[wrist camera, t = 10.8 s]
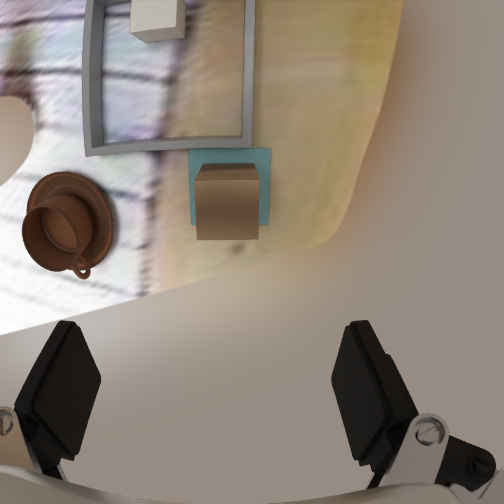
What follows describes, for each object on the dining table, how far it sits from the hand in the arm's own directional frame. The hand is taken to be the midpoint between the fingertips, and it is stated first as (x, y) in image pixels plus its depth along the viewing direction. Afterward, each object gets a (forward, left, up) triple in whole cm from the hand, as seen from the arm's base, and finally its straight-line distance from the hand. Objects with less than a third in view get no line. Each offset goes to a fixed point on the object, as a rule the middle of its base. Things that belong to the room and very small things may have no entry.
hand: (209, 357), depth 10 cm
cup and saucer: (+4, -18, -24) cm, 30 cm away
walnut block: (0, 0, -23) cm, 23 cm away
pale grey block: (-17, -6, -23) cm, 30 cm away
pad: (+1, 0, -23) cm, 23 cm away
